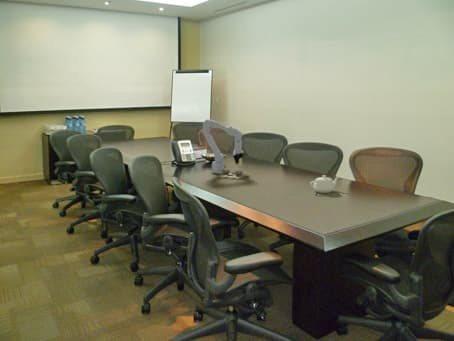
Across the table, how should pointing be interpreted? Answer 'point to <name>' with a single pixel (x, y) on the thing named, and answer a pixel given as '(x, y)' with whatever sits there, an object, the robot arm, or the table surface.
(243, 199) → the table surface
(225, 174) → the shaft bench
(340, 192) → the table surface
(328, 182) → the teapot
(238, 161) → the coupler
